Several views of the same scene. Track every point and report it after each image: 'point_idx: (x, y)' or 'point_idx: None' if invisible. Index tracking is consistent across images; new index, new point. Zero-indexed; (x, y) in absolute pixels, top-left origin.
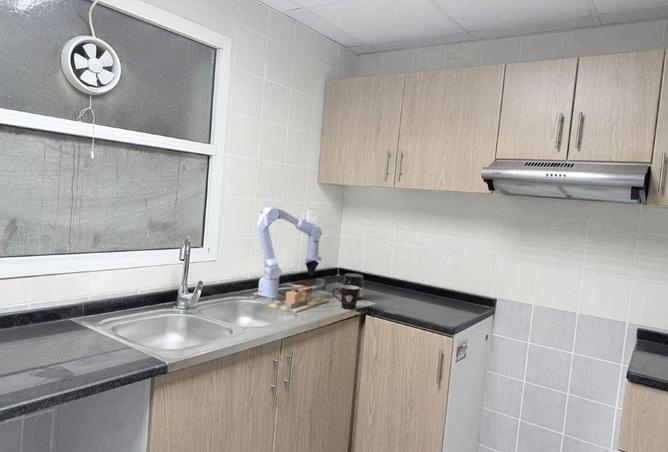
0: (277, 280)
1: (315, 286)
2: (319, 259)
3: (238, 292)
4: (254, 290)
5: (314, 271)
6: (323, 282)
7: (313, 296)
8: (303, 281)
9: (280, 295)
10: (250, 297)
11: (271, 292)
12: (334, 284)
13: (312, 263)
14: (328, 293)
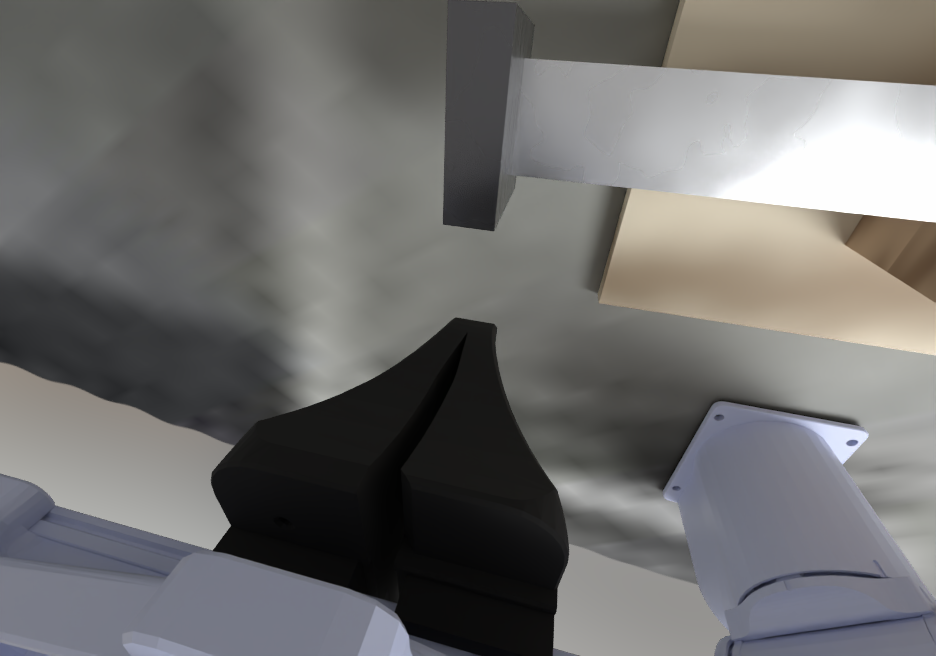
0: (871, 562)
1: (661, 137)
2: (181, 608)
3: None
4: (639, 545)
5: (429, 349)
6: (518, 46)
7: None
8: (199, 418)
9: (738, 406)
10: None
11: (848, 474)
12: (32, 236)
13: (545, 561)
14: (306, 110)
